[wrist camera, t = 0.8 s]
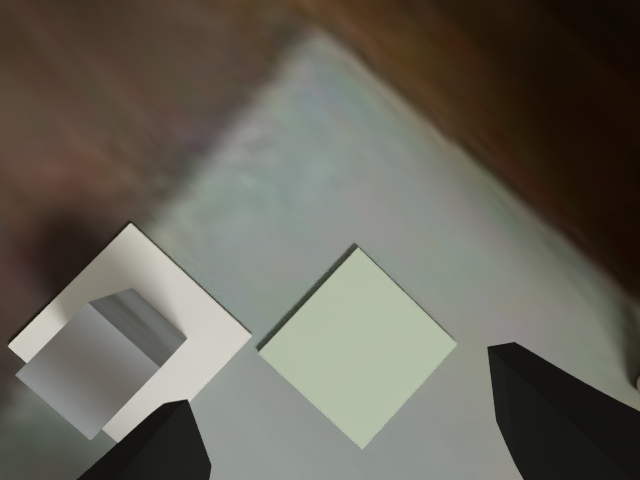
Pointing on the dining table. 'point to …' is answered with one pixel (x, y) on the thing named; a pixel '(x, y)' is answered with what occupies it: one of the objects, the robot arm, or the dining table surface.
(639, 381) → the planter
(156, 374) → the tile
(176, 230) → the dining table surface
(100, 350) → the grey block
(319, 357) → the sage mat
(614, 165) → the dining table surface
